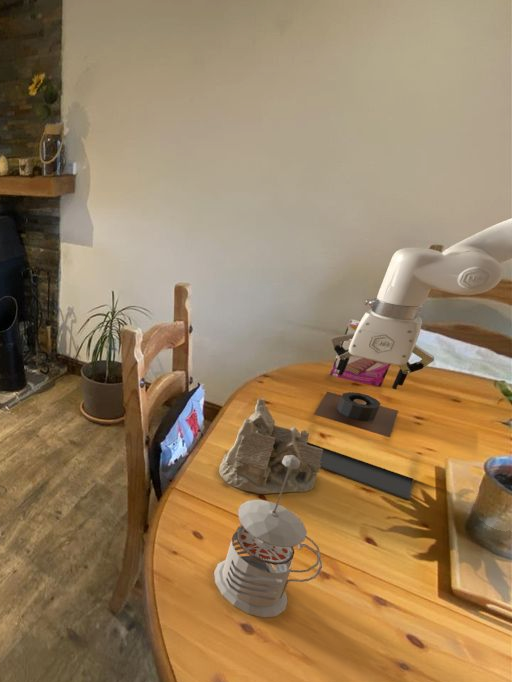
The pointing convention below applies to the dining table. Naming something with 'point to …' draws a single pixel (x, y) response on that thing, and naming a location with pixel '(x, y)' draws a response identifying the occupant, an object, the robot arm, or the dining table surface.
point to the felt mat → (366, 473)
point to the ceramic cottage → (269, 456)
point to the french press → (263, 555)
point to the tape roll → (358, 406)
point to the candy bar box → (360, 364)
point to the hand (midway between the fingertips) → (367, 379)
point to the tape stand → (378, 425)
